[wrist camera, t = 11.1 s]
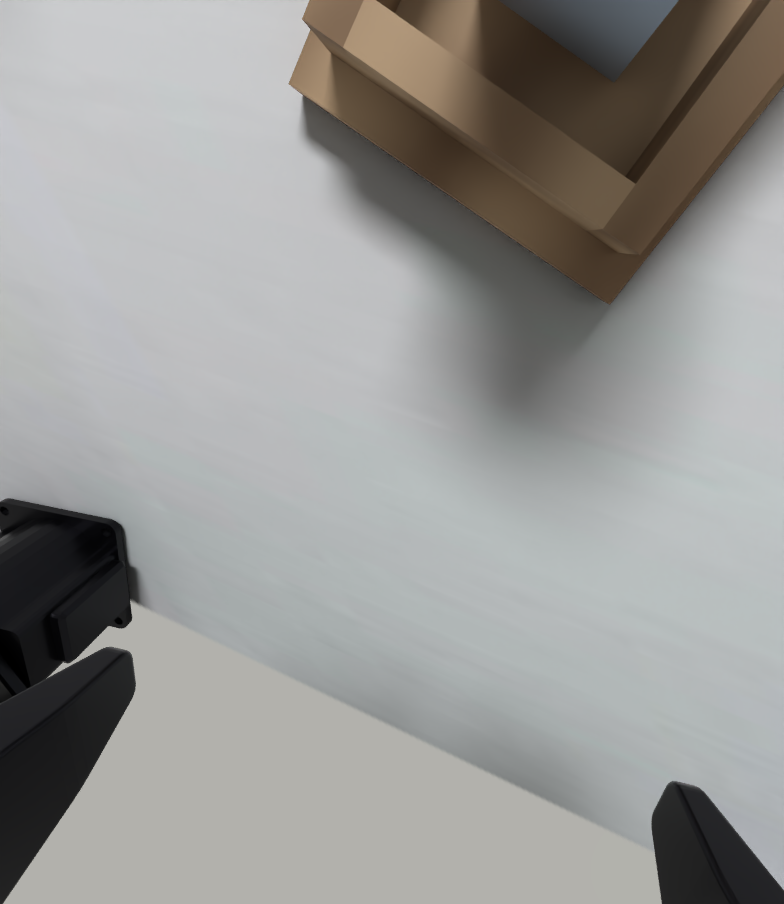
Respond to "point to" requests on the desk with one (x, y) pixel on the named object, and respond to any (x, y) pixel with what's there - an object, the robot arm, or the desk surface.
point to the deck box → (597, 27)
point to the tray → (549, 115)
